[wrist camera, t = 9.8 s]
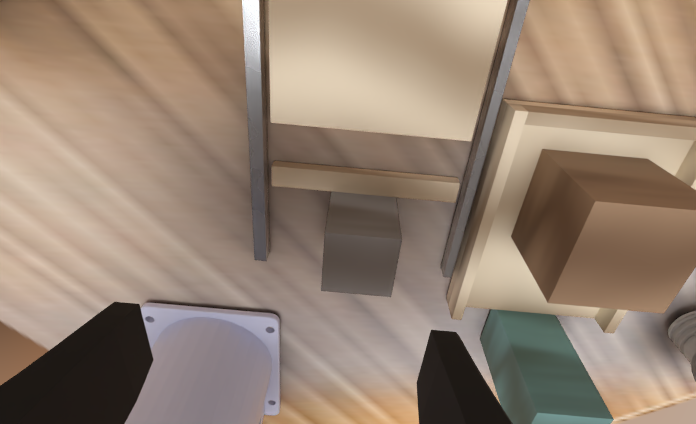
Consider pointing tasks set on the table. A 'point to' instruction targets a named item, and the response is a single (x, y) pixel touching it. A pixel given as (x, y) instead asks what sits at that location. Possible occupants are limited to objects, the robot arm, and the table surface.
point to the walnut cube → (607, 231)
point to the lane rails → (258, 125)
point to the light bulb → (685, 337)
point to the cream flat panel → (376, 109)
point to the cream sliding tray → (511, 270)
